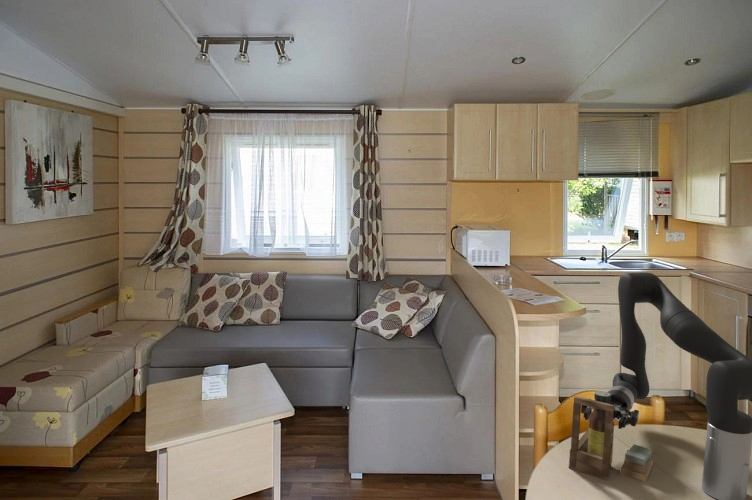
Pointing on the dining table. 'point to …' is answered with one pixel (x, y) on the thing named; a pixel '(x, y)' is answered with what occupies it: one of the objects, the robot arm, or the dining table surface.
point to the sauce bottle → (598, 427)
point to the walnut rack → (579, 447)
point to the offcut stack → (637, 463)
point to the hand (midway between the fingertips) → (602, 420)
